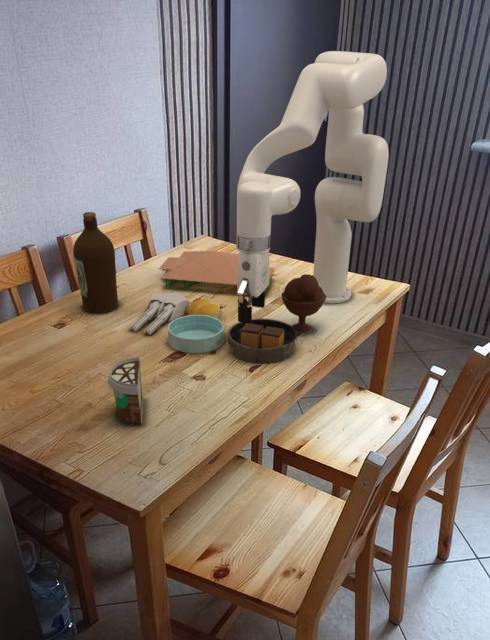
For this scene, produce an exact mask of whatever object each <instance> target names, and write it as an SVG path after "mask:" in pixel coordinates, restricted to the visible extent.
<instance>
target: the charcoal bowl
mask: <svg viewBox="0 0 490 640" xmlns="http://www.w3.org/2000/svg"><path fill="white" fill-rule="evenodd" d="M245 324H246V323H242V322H237V323H235V324H233V325H232V326H230V328H229V329H228V330H227V349H228V352H229V354H231V356H232V357H235V358H236V359H238V360H240V361H243V362H246V363H251V364H261V365H262V364H264V365H266V364H275V363H279V362H284V361H286V360H289V359H290V358H292V357H293V356H294V355H295V353H296V352H297V347H298V346H297V345H298V332H296V330H295V329H294V328H293V327H292V326H293V325H290V324H288V323H287V322H285V321H281V320H277V319H271V318H252V322H251V323H250V324H256V325H263V326H264V327H263V331H264V329H265V328H266V327H267V326H269V327H276V328H282V329H284V345H283V346H280V347H276V348H267V349H263V348H261V347H260V348H252V347H247V346H244V345H241V329H242V328H243V327H244V325H245Z"/></svg>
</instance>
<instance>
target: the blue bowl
mask: <svg viewBox="0 0 490 640" xmlns="http://www.w3.org/2000/svg"><path fill="white" fill-rule="evenodd" d="M166 327H167V328H166V329H167V342H168V345H169V347H171V348H172V349H174V350H175V351H179V352H181V353H186V354H205V353H209V352H212V351H216V350H217V349H219V348H220V347H222V345H224V343H225V325H224V322H222V321H221V319H219V318H218V319H217V318H214V317H211V316H206V315H189V314H188V315H182V316H180V317H178V318H175V319H173V320H171V321H169V323H168V324H167V326H166Z"/></svg>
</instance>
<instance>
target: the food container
mask: <svg viewBox="0 0 490 640" xmlns="http://www.w3.org/2000/svg"><path fill="white" fill-rule="evenodd" d="M141 373H142V372H141V360H140V356H133V357H129V358H125V359H122V360H120V361H118V362H116V363H115V364H113V365H112V366H111V368H110V370H109V373H108V380H107V382H108V386H109V387H110V388H111V389H112V392H113V397H114V401H115V406H116V410H117V411H116V412H117V416H118V418H119V419H120V420H121V421H122V422H124V423H126V424H129V425H133V426H135V425H136V426H142V422H143V408H144V398H143V396H144V395H143V387H142V384H143V383H142V374H141Z"/></svg>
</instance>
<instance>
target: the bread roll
mask: <svg viewBox="0 0 490 640" xmlns="http://www.w3.org/2000/svg"><path fill="white" fill-rule="evenodd" d="M186 312H187V314H188V315H206V316H211V317H214V318H217V319H219V318H220V317H221V314H222V311H221V307H220V306H219V305H218V304H216V303H213V302H211V301H210V300H208V299H206V298H205V299H204V298H200V299H198V298H197V299H195V300H194V301H192V302H190V303H189V305H188V308H187V309H186Z"/></svg>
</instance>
